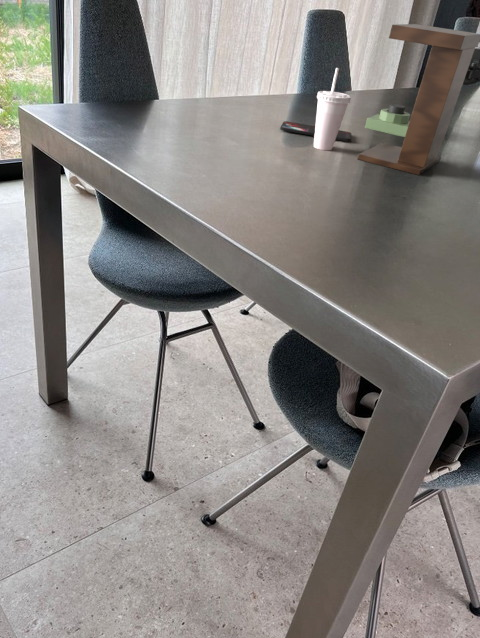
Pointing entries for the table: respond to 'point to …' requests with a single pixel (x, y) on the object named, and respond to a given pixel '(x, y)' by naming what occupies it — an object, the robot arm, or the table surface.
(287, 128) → the smartphone
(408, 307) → the table surface
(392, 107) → the button
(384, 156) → the shelf
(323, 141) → the smoothie
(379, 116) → the switch box
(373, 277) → the table surface
